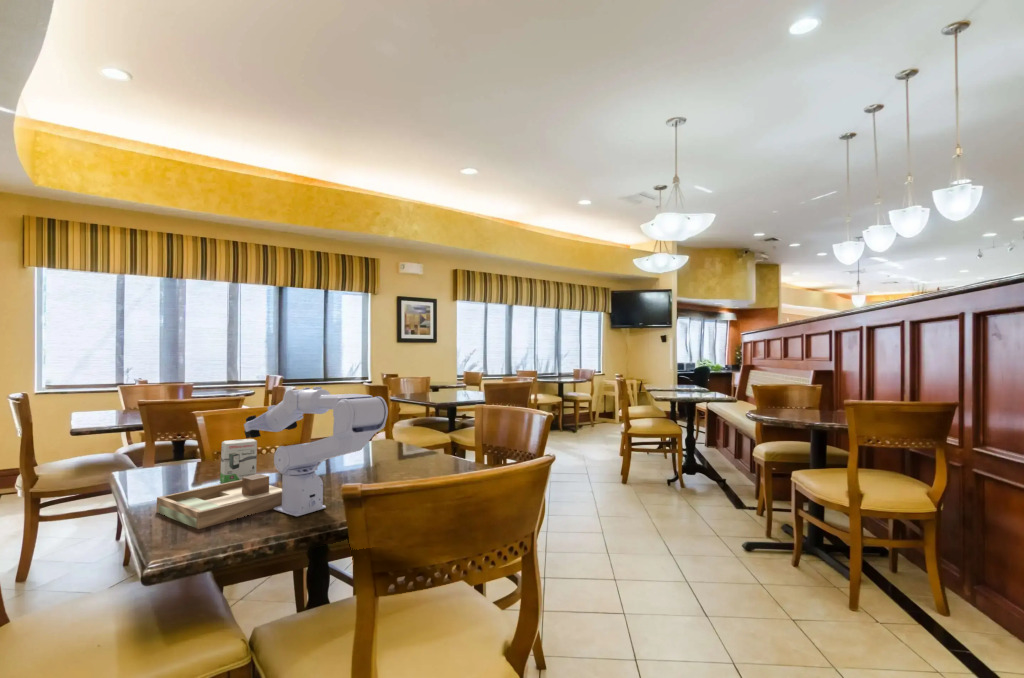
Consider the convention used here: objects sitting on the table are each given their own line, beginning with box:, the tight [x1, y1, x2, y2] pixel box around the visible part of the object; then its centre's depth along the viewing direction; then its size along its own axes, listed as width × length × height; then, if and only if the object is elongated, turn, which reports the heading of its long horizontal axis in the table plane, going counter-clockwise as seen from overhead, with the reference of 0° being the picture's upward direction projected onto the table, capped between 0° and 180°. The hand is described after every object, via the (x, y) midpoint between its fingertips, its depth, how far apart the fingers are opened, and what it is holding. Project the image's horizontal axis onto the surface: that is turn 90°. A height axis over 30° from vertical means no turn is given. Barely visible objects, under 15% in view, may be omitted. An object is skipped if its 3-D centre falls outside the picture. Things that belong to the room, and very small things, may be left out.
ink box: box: [219, 438, 258, 484], centre depth 144 cm, size 9×5×12 cm, turn 132°
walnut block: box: [242, 473, 270, 496], centre depth 125 cm, size 4×4×4 cm
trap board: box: [156, 480, 282, 530], centre depth 120 cm, size 20×24×4 cm
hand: (261, 431), depth 131 cm, fingers open, 7 cm apart
